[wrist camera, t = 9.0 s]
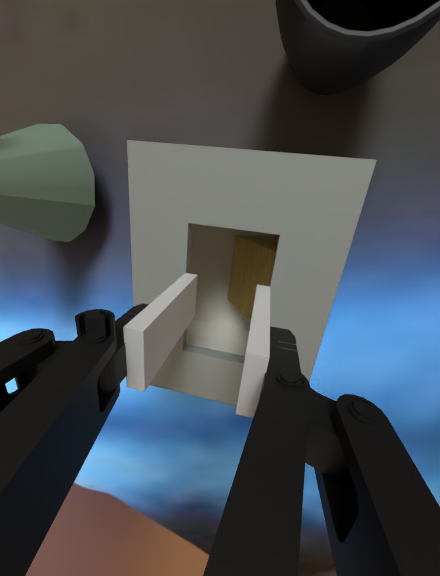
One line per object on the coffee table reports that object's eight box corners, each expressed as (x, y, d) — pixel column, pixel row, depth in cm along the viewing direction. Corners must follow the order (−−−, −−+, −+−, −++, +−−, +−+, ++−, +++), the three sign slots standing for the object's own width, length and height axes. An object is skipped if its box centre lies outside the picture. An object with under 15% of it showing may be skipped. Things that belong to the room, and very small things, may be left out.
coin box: (188, 164, 22) (127, 140, 12) (328, 177, 20) (376, 159, 11) (181, 320, 27) (136, 381, 18) (288, 340, 26) (297, 420, 17)
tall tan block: (234, 235, 20) (278, 253, 15) (264, 236, 22) (313, 253, 17) (227, 299, 23) (262, 333, 18) (253, 296, 24) (294, 327, 19)
